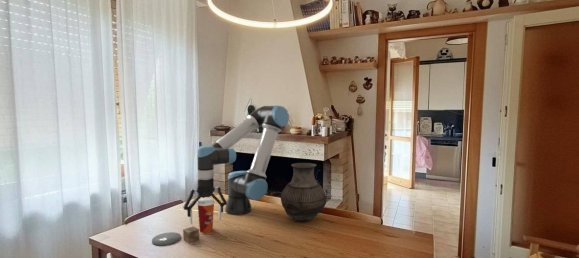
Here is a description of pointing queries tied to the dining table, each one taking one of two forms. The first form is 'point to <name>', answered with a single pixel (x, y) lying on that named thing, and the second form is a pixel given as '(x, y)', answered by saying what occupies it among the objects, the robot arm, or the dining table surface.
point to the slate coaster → (166, 239)
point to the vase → (303, 193)
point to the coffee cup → (205, 214)
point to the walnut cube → (190, 234)
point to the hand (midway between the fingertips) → (205, 221)
